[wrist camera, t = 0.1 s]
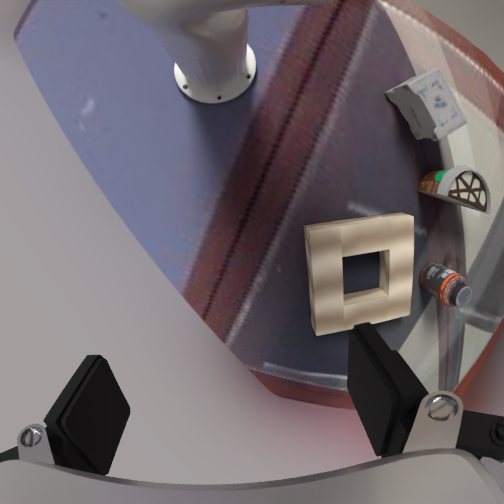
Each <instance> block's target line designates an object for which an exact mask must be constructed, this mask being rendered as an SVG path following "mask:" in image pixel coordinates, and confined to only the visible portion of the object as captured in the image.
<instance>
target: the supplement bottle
mask: <svg viewBox="0 0 504 504" xmlns="http://www.w3.org/2000/svg"><path fill="white" fill-rule="evenodd" d="M420 284H421V286H422V288H423V289H425V290H426V291H427V292H428V293H430V294H431V295H433V296H434V297H435V298H437V299H438V300H439V301H441V302H442V303H443V304H445V305H446V306H449V307H453V306H457V307H458V308H463V307H465V306H466V305H467V304H468V303H469V301H470V299H471V296H472V290H471V288H470V287H469V286H467V283H466V280H465V279H464V277H463V276H461V275H459V274H458V273H456V272H454V271H452V270H451V269H449V268H447V267H445V266H443V265H442V264H440V263H438V262H430V263H428V264H427V265H426V266H425V267H424V268H423V270H422V272H421V275H420Z"/></svg>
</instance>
